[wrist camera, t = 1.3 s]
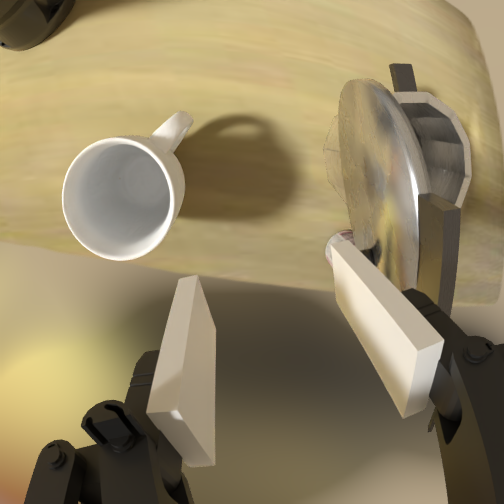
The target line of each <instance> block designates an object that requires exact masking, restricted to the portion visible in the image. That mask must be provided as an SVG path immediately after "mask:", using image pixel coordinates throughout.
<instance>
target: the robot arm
mask: <svg viewBox="0 0 504 504" xmlns="http://www.w3.org/2000/svg"><path fill="white" fill-rule="evenodd" d="M74 3H75V0H0V46H1V47H3V48H5V49H9V50H13V51H22V50H26V49H29V48H31V47H34V46H35V45H37V44H39V43H40V42H42V41H43V40H45V39H46V38H47V37H48V36H49V35H51V34H52V33H53V32H54V31H55V30H56V29H57V28H58V26H59V25H60V24H61V23H62V22H63V20H64V19H65V18H66V16H67V15H68V13H69V12H70V10H71V8H72V7H73V5H74ZM331 253H332V262H333V272H334V282H335V293H336V302H337V304H338V305H339V307H340V309H341V310H342V312H343V314H344V315H345V317H346V319H347V321H348V322H349V324H350V325H351V327H352V329H353V331H354V332H355V334H356V336H357V337H358V339H359V341H360V343H361V344H362V346H363V348H364V349H365V351H366V353H367V355H368V356H369V358H370V360H371V362H372V364H373V365H374V367H375V369H376V371H377V372H378V374H379V376H380V378H381V379H382V381H383V383H384V385H385V387H386V388H387V390H388V392H389V394H390V396H391V398H392V399H393V401H394V403H395V405H396V407H397V409H398V411H399V412H400V414H401V416H402V418H406V417H408V416H411V415H413V414H415V413H417V412H420V411H422V410H424V409H426V406H427V402H428V400H429V397H430V398H431V400H432V402H433V403H434V405H435V406H436V407H435V409H434V412H433V415H432V417H431V420H430V422H429V425H428V432H431V431H432V429H433V426H434V424H435V427H436V432H437V436H438V441H439V447H440V452H441V457H442V463H443V468H444V475H445V481H446V489H447V496H448V504H504V344H499V345H494V344H493V343H492V342H491V341H489V340H487V339H486V338H484V337H479V336H467V335H466V334H465V333H464V332H463V331H462V330H461V329H460V328H459V327H458V326H457V325H456V324H455V323H454V322H453V321H452V320H451V319H450V317H449V316H448V315H447V314H446V313H444V312H443V311H441V309H440V308H439V307H438V306H437V305H436V304H434V302H433V301H432V300H431V299H430V298H429V297H428V296H427V295H426V294H425V293H423V292H420V291H418V290H416V289H414V288H411V289H408V290H404V291H401V292H400V291H399V290H398V289H397V288H396V287H395V286H394V285H393V284H392V283H391V282H390V281H389V280H388V279H387V278H386V277H385V276H384V275H383V274H382V273H381V272H380V271H379V270H378V269H377V268H376V267H375V266H374V265H373V264H372V263H371V262H370V261H369V260H368V259H367V258H366V257H365V256H364V255H363V254H362V253H361V252H360V251H359V250H358V249H357V248H356V247H355V246H354V245H353V244H352V243H351V242H350V241H349V240H346V241H341V242H337V243H333V244H331ZM215 354H216V328H215V325H214V323H213V320H212V317H211V314H210V311H209V308H208V305H207V302H206V299H205V296H204V293H203V290H202V287H201V284H200V281H199V278H198V275H194V276H190V277H185V278H181V279H179V281H178V285H177V289H176V292H175V296H174V299H173V303H172V307H171V310H170V314H169V318H168V322H167V326H166V330H165V333H164V337H163V341H162V345H161V349H160V350H155V351H149V352H145V353H144V354H143V356H142V357H141V358H140V359H139V360H138V362H137V363H136V366H135V369H134V373H133V377H132V379H131V382H130V387H129V389H128V393H127V396H126V399H125V403H123V402H120V401H116V400H107V401H103V402H101V403H98V404H96V405H95V406H94V407H92V408H91V409H90V410H88V412H87V413H86V415H85V416H84V417H83V420H82V423H81V427H82V428H83V429H84V430H85V431H86V432H87V434H88V435H89V436H90V437H91V438H92V439H93V440H94V441H95V442H96V443H97V444H95V445H91V446H87V447H83V448H79V449H75V448H74V447H73V446H72V445H71V444H70V443H69V442H68V441H65V440H54V441H53V442H50V443H49V444H47V445H46V446H45V447H44V448H43V449H42V451H41V453H40V455H39V457H38V460H37V463H36V466H35V469H34V472H33V475H32V478H31V481H30V484H29V488H28V491H27V494H26V498H25V502H24V504H78V501H79V502H81V504H194V501H193V498H192V494H191V491H190V488H189V484H188V481H187V479H186V477H185V475H184V474H183V473H182V472H181V467H182V459H183V461H184V462H185V463H186V464H187V465H188V466H189V467H201V466H212V465H215V356H216V355H215Z"/></svg>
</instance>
